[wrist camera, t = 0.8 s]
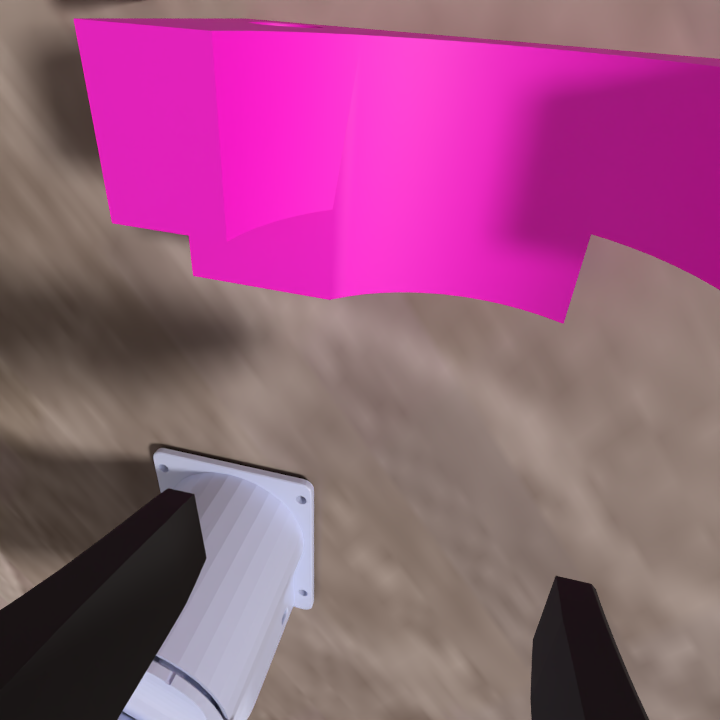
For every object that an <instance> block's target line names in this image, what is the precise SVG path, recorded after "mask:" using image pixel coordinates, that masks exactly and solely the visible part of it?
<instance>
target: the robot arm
mask: <svg viewBox="0 0 720 720" xmlns="http://www.w3.org/2000/svg"><path fill="white" fill-rule="evenodd" d="M153 459H154V464H155V469H156V473H157V478H158V482H159V487H160V492H161V494H159V495H158V496H157V497H155V498H154V499H153V500H151V501H150V502H149V503H147V504H146V505H145V506H144V507H142V508H141V509H140V510H138V511H137V512H136V513H134V514H133V515H132V516H131V517H129V518H128V519H127V520H125V521H124V522H123V523H122V524H120V525H119V526H118V527H116V528H115V529H114V530H112V531H111V532H110V533H108V534H107V535H106V536H105V537H103V538H102V539H101V540H99V541H98V542H97V543H95V544H94V545H92V546H91V547H90V548H88V549H87V550H86V551H84V552H83V553H82V554H80V555H79V556H78V557H76V558H75V559H74V560H72V561H71V562H70V563H68V564H67V565H65V566H64V567H63V568H61V569H60V570H58V571H57V572H56V573H54V574H53V575H51V576H50V577H48V578H47V579H46V580H44V581H43V582H41V583H40V584H38V585H37V586H35V587H34V588H32V589H31V590H30V591H28V592H27V593H25V594H24V595H22V596H21V597H19V598H18V599H16V600H15V601H13V602H12V603H10V604H9V605H7V606H6V607H4V608H3V609H1V610H0V720H247V719H248V717H249V715H250V713H251V711H252V709H253V707H254V705H255V702H256V700H257V697H258V695H259V692H260V690H261V687H262V685H263V682H264V679H265V677H266V674H267V672H268V669H269V667H270V664H271V662H272V659H273V657H274V654H275V651H276V649H277V646H278V644H279V641H280V639H281V636H282V634H283V631H284V628H285V626H286V623H287V621H288V618H289V616H290V613H291V611H292V608H293V606H294V607H297V608H301V609H310V608H312V605H313V602H314V488H313V485H312V484H311V483H310V482H309V481H308V480H305V479H301V478H297V477H292V476H288V475H283V474H279V473H274V472H270V471H265V470H261V469H256V468H252V467H247V466H243V465H238V464H234V463H229V462H225V461H220V460H216V459H211V458H207V457H202V456H198V455H193V454H189V453H184V452H180V451H175V450H171V449H166V448H159V449H158V450H157V451H156V452H155V453H154V455H153ZM301 496H302V497H301ZM303 497H304V498H303ZM531 715H532V720H649V718H648V716H647V714H646V712H645V710H644V708H643V705H642V703H641V701H640V699H639V697H638V695H637V692H636V690H635V688H634V686H633V683H632V681H631V679H630V676H629V674H628V672H627V669H626V667H625V665H624V662H623V660H622V657H621V655H620V653H619V650H618V648H617V645H616V643H615V640H614V638H613V635H612V633H611V630H610V628H609V625H608V622H607V620H606V617H605V614H604V611H603V609H602V606H601V603H600V600H599V597H598V595H597V592H596V589H595V588H594V587H593V585H592V584H589V583H585V582H581V581H576V580H572V579H567V578H563V577H558V576H556V577H555V580H554V582H553V585H552V588H551V591H550V594H549V596H548V599H547V602H546V605H545V607H544V610H543V613H542V616H541V619H540V621H539V624H538V627H537V630H536V633H535V635H534V638H533V650H532V672H531Z"/></svg>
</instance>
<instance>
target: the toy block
mask: <svg viewBox="0 0 720 720" xmlns="http://www.w3.org/2000/svg"><path fill="white" fill-rule="evenodd" d="M74 24H75V29H76V35H77V40H78V45H79V51H80V56H81V61H82V67H83V72H84V77H85V82H86V88H87V93H88V98H89V104H90V109H91V114H92V119H93V125H94V130H95V135H96V141H97V146H98V151H99V157H100V162H101V167H102V172H103V178H104V183H105V188H106V194H107V199H108V204H109V210H110V215H111V220H112V223H114V224H120V225H126V226H133V227H139V228H145V229H151V230H157V231H164V232H170V233H176V234H182V235H188V236H189V243H190V252H191V261H192V270H193V276H197V277H203V278H208V279H214V280H220V281H226V282H231V283H237V284H243V285H248V286H254V287H260V288H265V289H271V290H277V291H282V292H288V293H294V294H299V295H305V296H311V297H317V298H322V299H328V300H331V299H336V298H341V297H346V296H354V295H362V294H372V293H387V292H419V293H435V294H446V295H454V296H462V297H468V298H474V299H480V300H485V301H490V302H495V303H499V304H503V305H507V306H511V307H515V308H519V309H522V310H525V311H529V312H532V313H535V314H538V315H541V316H544V317H547V318H549V319H552V320H555V321H558V322H560V323H564V320H565V317H566V314H567V310H568V307H569V304H570V301H571V297H572V294H573V291H574V288H575V284H576V281H577V278H578V275H579V271H580V268H581V265H582V262H583V259H584V255H585V252H586V249H587V246H588V242H589V239H590V236H591V234H593V235H596V236H599V237H602V238H605V239H609V240H611V241H614V242H617V243H620V244H623V245H626V246H629V247H631V248H634V249H636V250H639V251H642V252H644V253H647V254H649V255H652V256H654V257H656V258H659V259H661V260H663V261H665V262H668V263H670V264H672V265H674V266H676V267H678V268H680V269H682V270H684V271H686V272H688V273H690V274H692V275H694V276H696V277H698V278H700V279H702V280H703V281H705V282H707V283H709V284H710V285H712V286H714V287H716V288H717V289H719V290H720V59H715V58H703V57H691V56H679V55H667V54H656V53H644V52H632V51H620V50H608V49H597V48H585V47H573V46H561V45H549V44H538V43H526V42H514V41H502V40H491V39H479V38H467V37H455V36H443V35H432V34H420V33H408V32H396V31H384V30H373V29H361V28H349V27H337V26H326V25H314V24H302V23H290V22H278V21H267V20H255V19H74Z"/></svg>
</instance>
